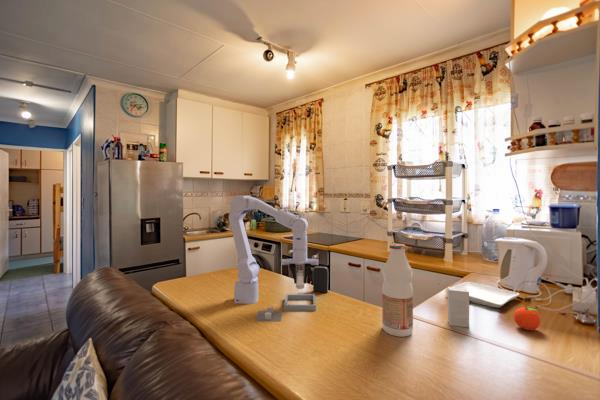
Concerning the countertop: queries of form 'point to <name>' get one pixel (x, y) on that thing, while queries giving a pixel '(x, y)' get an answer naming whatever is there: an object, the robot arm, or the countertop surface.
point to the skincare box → (458, 306)
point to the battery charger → (320, 279)
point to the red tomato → (527, 318)
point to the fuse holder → (269, 315)
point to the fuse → (299, 279)
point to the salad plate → (487, 294)
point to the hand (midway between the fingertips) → (300, 282)
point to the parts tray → (300, 307)
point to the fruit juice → (397, 293)
